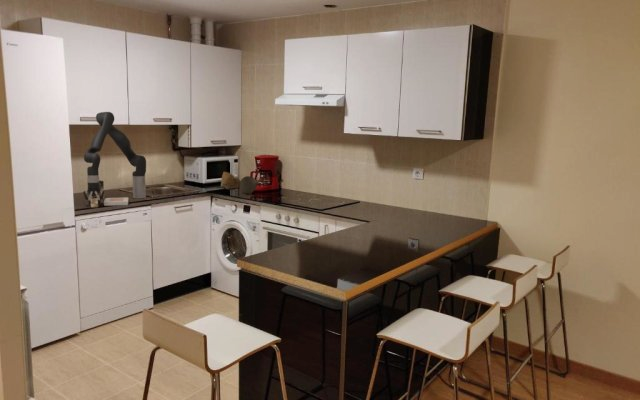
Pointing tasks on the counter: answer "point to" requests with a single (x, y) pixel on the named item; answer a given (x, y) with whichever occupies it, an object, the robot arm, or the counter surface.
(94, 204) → the maple block
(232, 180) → the rough brown rock
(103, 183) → the coffee box
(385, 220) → the counter surface
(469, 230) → the counter surface
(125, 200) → the white base board
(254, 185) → the dark grey sphere
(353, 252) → the counter surface
